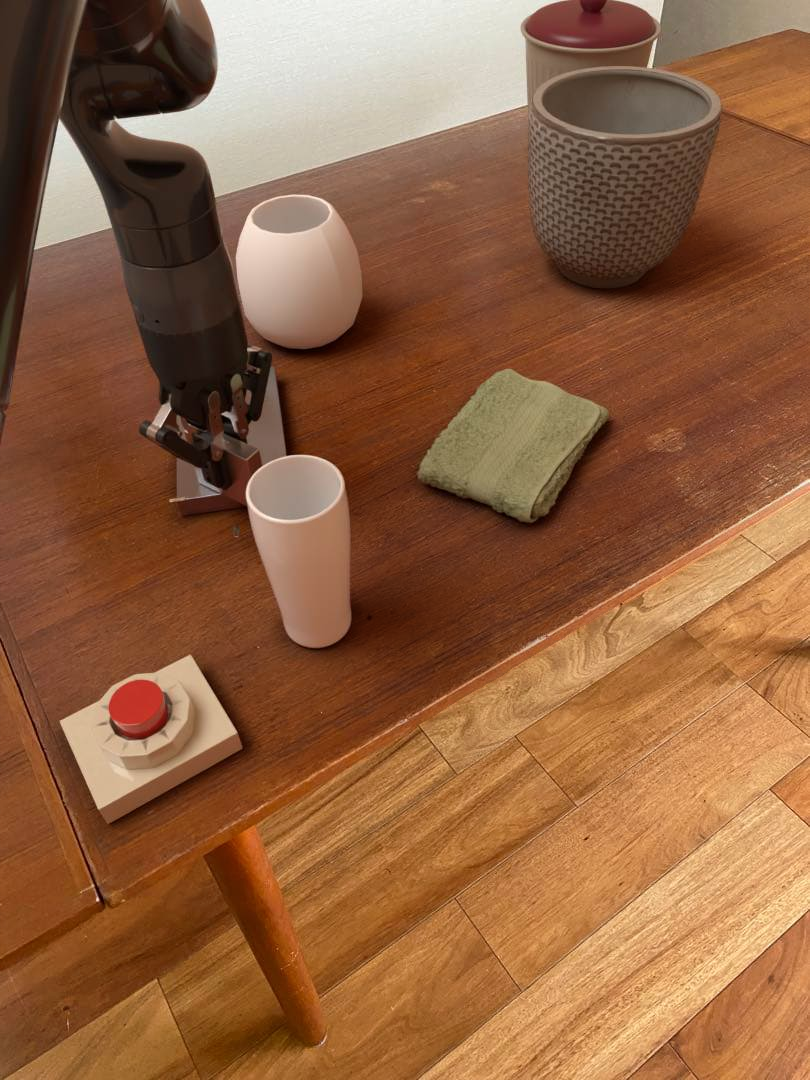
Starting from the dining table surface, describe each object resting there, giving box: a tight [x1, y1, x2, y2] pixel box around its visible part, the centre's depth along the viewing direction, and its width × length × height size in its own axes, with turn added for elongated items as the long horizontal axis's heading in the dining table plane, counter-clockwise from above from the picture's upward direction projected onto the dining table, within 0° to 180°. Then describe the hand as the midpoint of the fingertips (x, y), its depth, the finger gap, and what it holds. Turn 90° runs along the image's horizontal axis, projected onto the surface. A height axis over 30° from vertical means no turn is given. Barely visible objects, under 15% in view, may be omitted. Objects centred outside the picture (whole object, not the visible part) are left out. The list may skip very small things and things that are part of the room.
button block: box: [59, 654, 243, 825], centre depth 60 cm, size 10×8×4 cm
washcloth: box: [416, 368, 611, 524], centre depth 80 cm, size 13×18×3 cm
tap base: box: [168, 365, 288, 539], centre depth 81 cm, size 24×11×2 cm, turn 10°
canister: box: [520, 0, 662, 120], centre depth 117 cm, size 18×18×21 cm
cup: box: [235, 194, 364, 350], centre depth 92 cm, size 13×13×14 cm
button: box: [109, 680, 169, 739], centre depth 58 cm, size 4×4×2 cm
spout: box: [184, 430, 262, 506], centre depth 74 cm, size 7×2×6 cm, turn 56°
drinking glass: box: [246, 454, 353, 649], centre depth 63 cm, size 7×7×15 cm
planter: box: [527, 66, 723, 290], centre depth 97 cm, size 20×20×19 cm
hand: (230, 476), depth 75 cm, fingers closed on spout
